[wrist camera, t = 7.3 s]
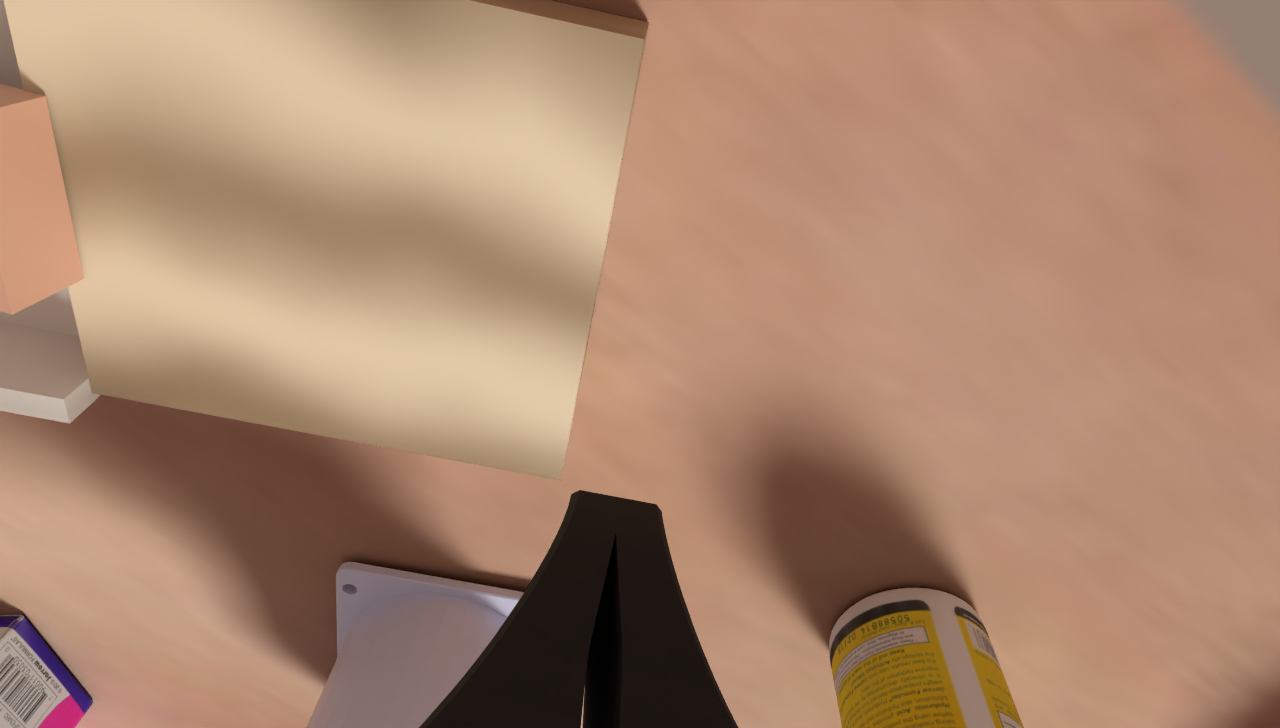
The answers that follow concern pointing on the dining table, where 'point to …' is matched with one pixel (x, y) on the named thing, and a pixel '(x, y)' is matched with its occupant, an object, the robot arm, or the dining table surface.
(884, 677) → the supplement bottle
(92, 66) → the plate
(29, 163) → the tile
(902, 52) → the dining table surface
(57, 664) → the supplement box
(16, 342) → the tray
